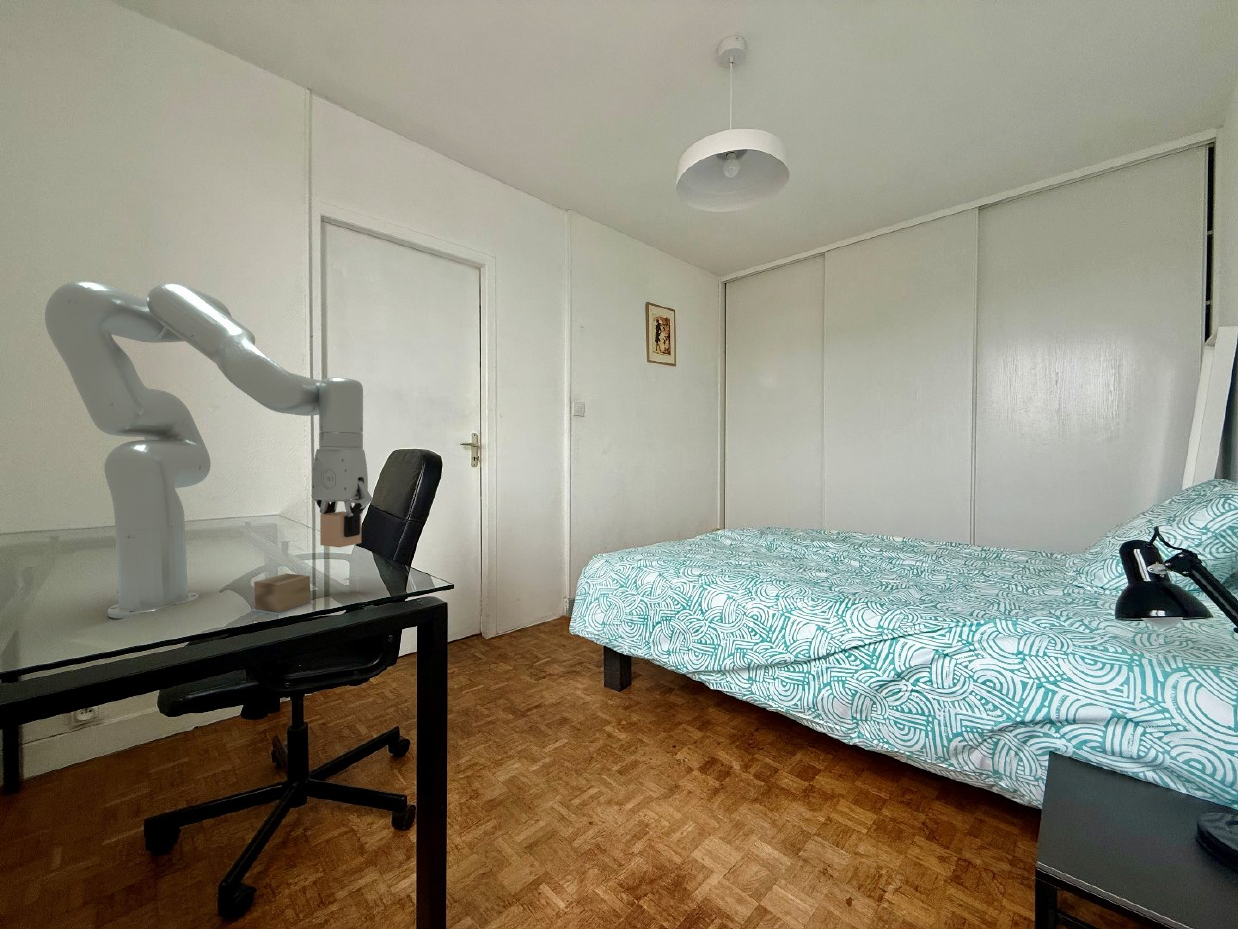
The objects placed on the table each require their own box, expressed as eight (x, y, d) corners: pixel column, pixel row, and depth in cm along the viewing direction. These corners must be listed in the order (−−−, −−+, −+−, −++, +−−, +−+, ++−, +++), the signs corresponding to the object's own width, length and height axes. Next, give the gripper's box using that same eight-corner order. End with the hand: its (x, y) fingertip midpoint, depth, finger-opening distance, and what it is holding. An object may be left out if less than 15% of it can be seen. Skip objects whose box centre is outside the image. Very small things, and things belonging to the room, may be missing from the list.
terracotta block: (320, 545, 97) (320, 514, 97) (342, 540, 102) (342, 511, 102) (339, 547, 95) (339, 516, 95) (361, 542, 100) (361, 513, 100)
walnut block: (255, 609, 89) (254, 581, 89) (287, 599, 95) (286, 573, 95) (279, 613, 87) (277, 584, 87) (310, 602, 93) (309, 576, 93)
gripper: (291, 441, 97) (292, 534, 98) (358, 443, 91) (358, 542, 92) (326, 441, 104) (326, 528, 105) (390, 443, 98) (389, 535, 99)
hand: (341, 533), depth 99 cm, fingers closed on terracotta block, 4 cm apart
